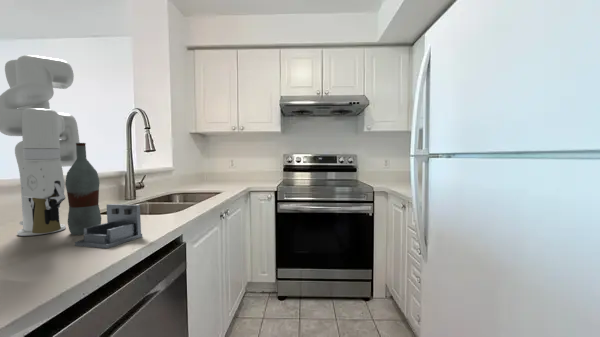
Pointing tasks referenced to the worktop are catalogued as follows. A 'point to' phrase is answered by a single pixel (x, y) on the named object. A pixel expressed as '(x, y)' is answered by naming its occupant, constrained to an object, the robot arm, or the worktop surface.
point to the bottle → (82, 193)
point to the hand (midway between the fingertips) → (46, 221)
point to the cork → (43, 218)
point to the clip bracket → (114, 227)
